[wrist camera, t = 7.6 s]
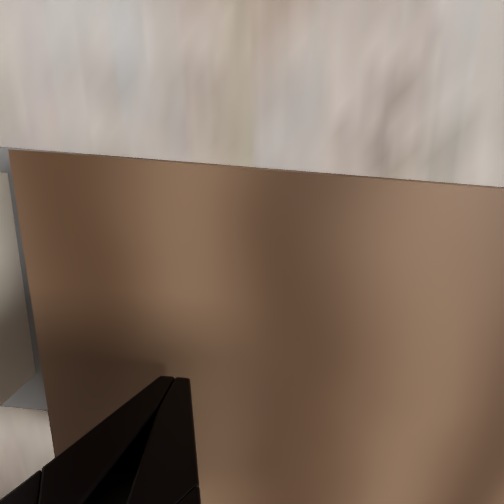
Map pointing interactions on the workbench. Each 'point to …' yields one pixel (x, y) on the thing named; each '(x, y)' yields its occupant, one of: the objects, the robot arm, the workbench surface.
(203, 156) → the workbench surface
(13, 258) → the cream rectangular block
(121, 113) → the workbench surface
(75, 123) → the workbench surface
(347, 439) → the plate
